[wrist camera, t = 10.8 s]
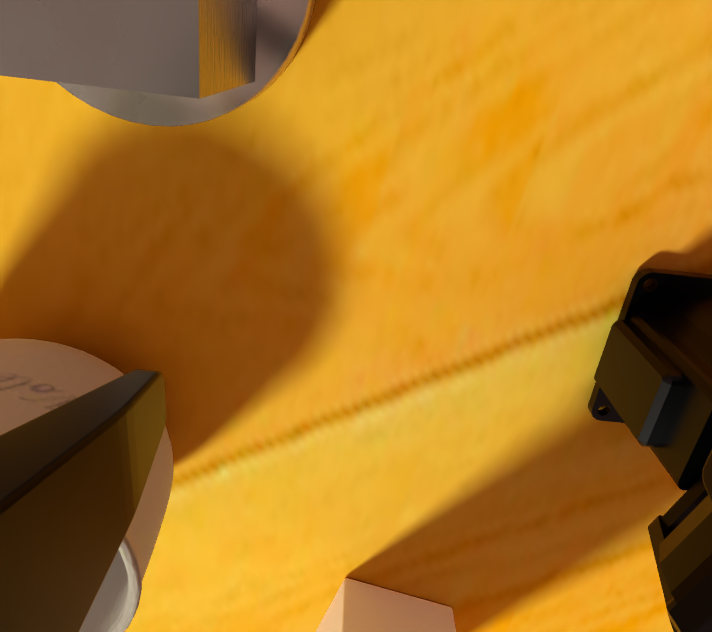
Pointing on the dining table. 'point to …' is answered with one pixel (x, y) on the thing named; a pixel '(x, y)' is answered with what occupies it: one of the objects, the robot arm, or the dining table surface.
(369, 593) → the milk
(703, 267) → the dining table surface
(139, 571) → the teacup
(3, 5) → the matte grey cube
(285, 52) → the pan with red handle
